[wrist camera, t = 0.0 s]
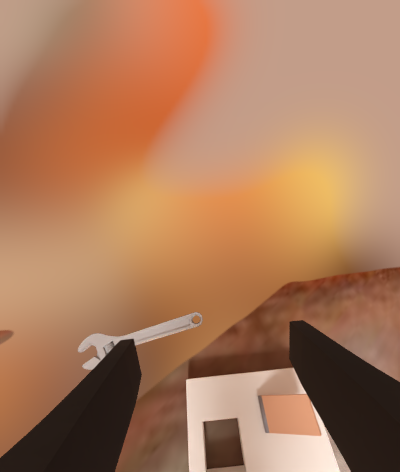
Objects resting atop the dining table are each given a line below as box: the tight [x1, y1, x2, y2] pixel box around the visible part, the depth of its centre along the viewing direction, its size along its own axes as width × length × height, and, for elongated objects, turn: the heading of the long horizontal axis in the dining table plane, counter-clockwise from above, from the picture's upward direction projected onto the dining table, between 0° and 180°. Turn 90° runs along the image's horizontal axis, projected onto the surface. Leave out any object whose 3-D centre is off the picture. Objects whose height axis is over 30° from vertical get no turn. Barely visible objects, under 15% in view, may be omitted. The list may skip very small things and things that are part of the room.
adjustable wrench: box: [78, 312, 203, 370], centre depth 37 cm, size 25×6×2 cm, turn 101°
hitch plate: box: [186, 368, 340, 472], centre depth 28 cm, size 16×20×3 cm
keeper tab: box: [258, 394, 322, 436], centre depth 26 cm, size 4×7×1 cm
